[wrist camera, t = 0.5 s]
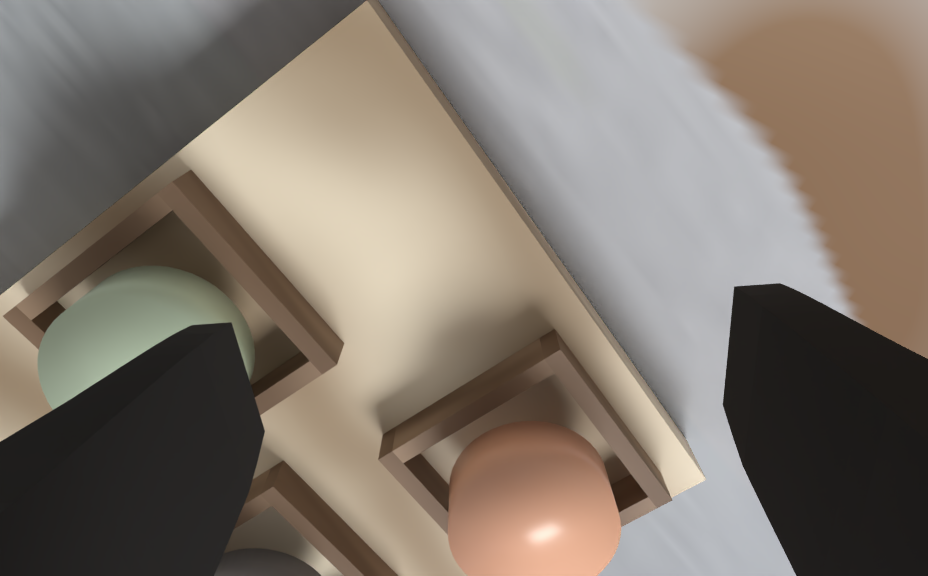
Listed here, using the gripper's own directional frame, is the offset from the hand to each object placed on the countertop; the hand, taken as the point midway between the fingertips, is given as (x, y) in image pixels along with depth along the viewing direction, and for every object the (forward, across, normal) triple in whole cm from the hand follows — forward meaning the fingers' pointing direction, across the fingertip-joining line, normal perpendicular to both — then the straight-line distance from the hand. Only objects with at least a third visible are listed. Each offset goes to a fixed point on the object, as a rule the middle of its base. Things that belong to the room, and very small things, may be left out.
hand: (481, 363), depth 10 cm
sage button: (+6, +8, +3) cm, 11 cm away
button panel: (+9, +6, +7) cm, 13 cm away
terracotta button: (+6, 0, +8) cm, 10 cm away
